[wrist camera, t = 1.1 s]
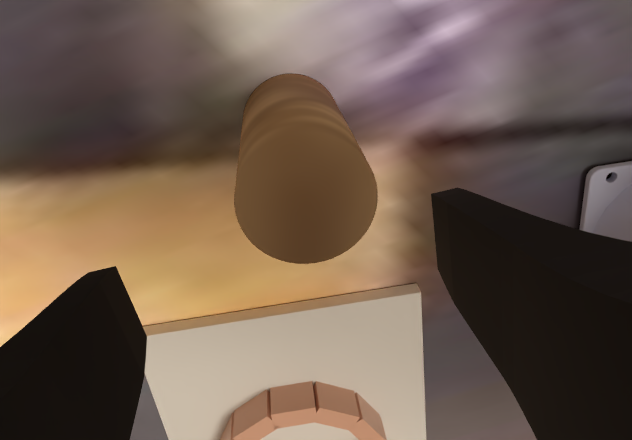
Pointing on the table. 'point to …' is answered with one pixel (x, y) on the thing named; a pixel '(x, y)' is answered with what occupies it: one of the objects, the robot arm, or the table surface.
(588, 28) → the table surface
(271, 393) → the collar
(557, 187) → the table surface
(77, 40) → the table surface
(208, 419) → the socket board
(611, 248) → the robot arm
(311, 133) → the wooden peg
